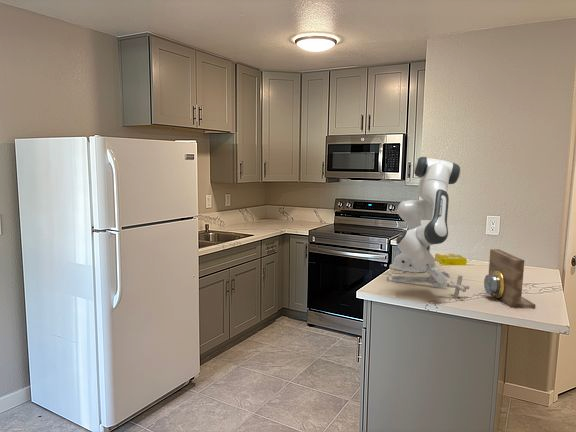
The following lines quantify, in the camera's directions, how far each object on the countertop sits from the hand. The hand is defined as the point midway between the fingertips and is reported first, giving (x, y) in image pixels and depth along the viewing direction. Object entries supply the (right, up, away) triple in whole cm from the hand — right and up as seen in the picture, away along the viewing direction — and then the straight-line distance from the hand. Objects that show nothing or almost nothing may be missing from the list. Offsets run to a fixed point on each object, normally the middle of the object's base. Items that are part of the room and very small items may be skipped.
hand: (445, 285), depth 194 cm
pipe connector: (+5, -5, +1) cm, 7 cm away
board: (+28, -6, 0) cm, 29 cm away
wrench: (-7, -3, +20) cm, 22 cm away
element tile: (+29, +2, +74) cm, 80 cm away
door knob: (+21, -5, 0) cm, 21 cm away
